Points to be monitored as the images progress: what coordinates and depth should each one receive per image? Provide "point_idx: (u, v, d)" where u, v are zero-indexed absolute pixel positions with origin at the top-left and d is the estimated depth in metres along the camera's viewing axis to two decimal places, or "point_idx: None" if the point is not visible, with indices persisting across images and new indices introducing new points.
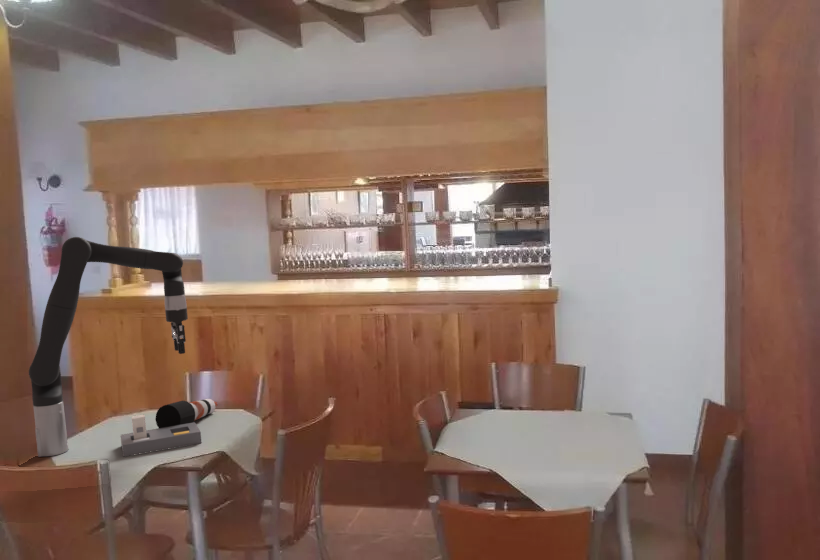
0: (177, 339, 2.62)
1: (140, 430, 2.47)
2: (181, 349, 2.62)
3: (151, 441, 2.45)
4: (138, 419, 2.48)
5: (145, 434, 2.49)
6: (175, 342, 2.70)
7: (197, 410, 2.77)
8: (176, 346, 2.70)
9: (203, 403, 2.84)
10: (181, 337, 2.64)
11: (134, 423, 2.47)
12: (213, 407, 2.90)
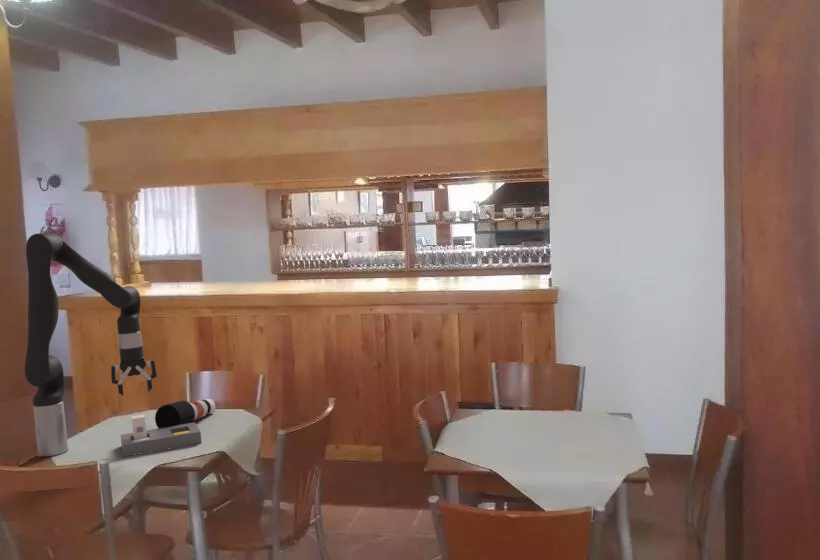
0: (149, 375, 2.49)
1: (140, 430, 2.47)
2: None
3: (151, 441, 2.45)
4: (138, 419, 2.48)
5: (145, 434, 2.49)
6: (122, 386, 2.46)
7: (197, 410, 2.77)
8: None
9: (203, 403, 2.84)
10: None
11: (134, 423, 2.47)
12: (213, 407, 2.89)
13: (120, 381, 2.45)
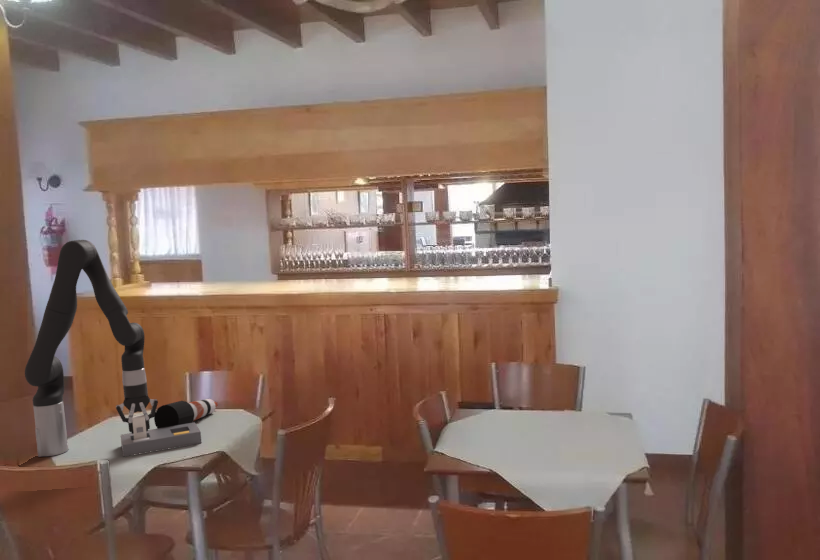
0: (148, 416, 2.50)
1: (140, 430, 2.47)
2: None
3: (151, 441, 2.45)
4: (138, 419, 2.48)
5: (145, 434, 2.49)
6: (132, 424, 2.48)
7: (196, 410, 2.77)
8: None
9: (203, 403, 2.84)
10: None
11: (134, 423, 2.47)
12: (213, 407, 2.89)
13: (130, 419, 2.47)
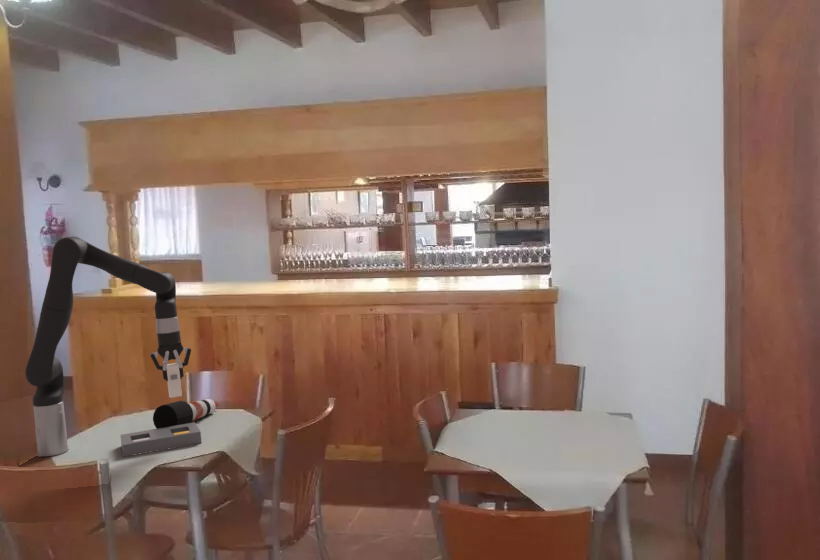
0: (182, 363, 2.53)
1: (174, 377, 2.50)
2: None
3: (151, 441, 2.45)
4: (172, 366, 2.51)
5: (179, 381, 2.52)
6: None
7: (196, 410, 2.77)
8: None
9: (202, 403, 2.83)
10: None
11: (168, 370, 2.50)
12: (213, 407, 2.89)
13: (164, 367, 2.51)
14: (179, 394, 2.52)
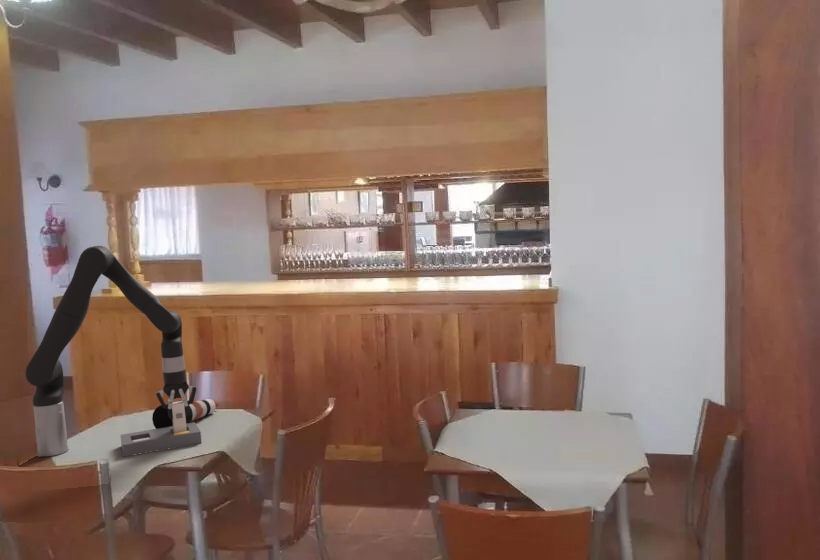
0: (187, 402, 2.55)
1: (179, 416, 2.52)
2: None
3: (151, 441, 2.45)
4: (177, 405, 2.52)
5: (184, 420, 2.54)
6: None
7: (195, 410, 2.77)
8: (172, 414, 2.54)
9: (202, 403, 2.83)
10: None
11: (174, 409, 2.52)
12: (213, 407, 2.89)
13: (169, 405, 2.52)
14: None
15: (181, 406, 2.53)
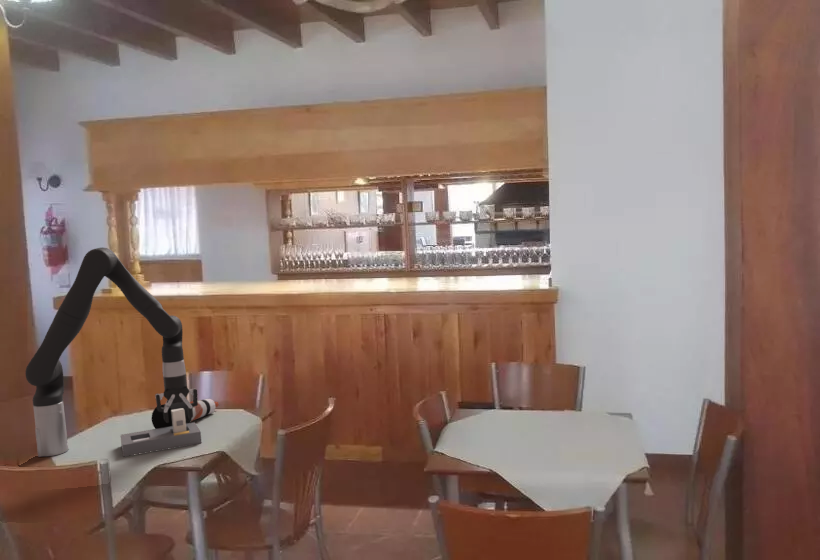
0: (191, 404, 2.55)
1: (180, 423, 2.52)
2: None
3: (151, 441, 2.45)
4: (178, 413, 2.53)
5: (185, 427, 2.54)
6: None
7: (195, 410, 2.77)
8: (168, 418, 2.53)
9: (202, 403, 2.83)
10: None
11: (174, 416, 2.52)
12: (213, 407, 2.89)
13: (166, 409, 2.52)
14: None
15: (182, 413, 2.53)
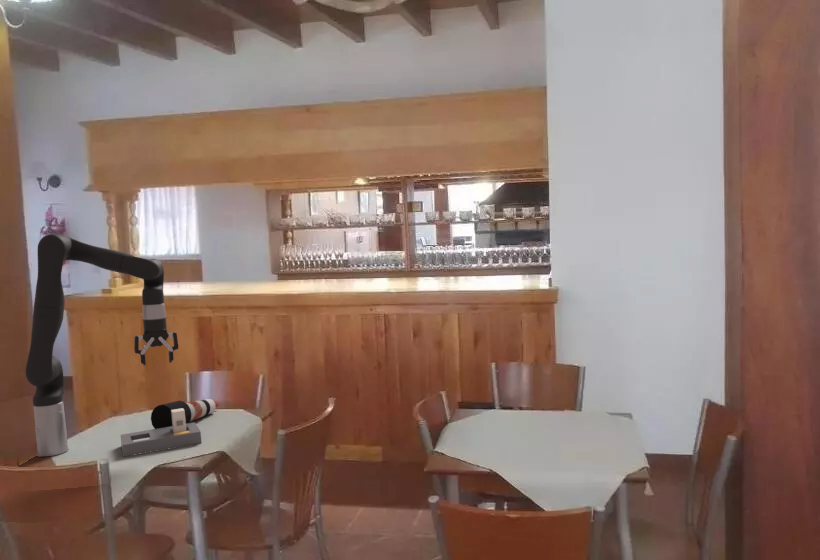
0: (171, 347, 2.54)
1: (180, 423, 2.52)
2: None
3: (151, 441, 2.45)
4: (178, 413, 2.53)
5: (185, 427, 2.54)
6: None
7: (194, 410, 2.77)
8: None
9: (202, 403, 2.83)
10: None
11: (174, 416, 2.52)
12: (213, 407, 2.89)
13: (143, 351, 2.50)
14: None
15: (182, 413, 2.53)
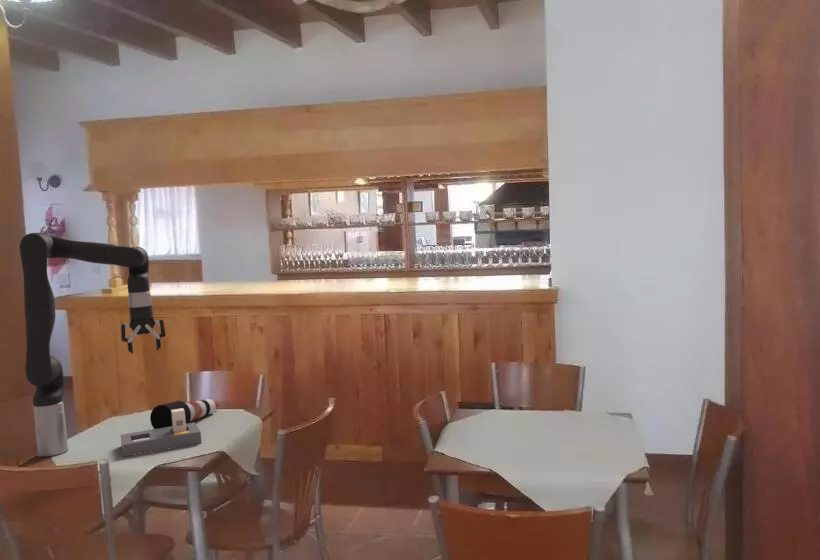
0: None
1: (180, 423, 2.52)
2: None
3: (151, 441, 2.45)
4: (178, 413, 2.53)
5: (185, 427, 2.54)
6: None
7: (194, 410, 2.77)
8: (132, 348, 2.52)
9: (202, 403, 2.83)
10: None
11: (174, 416, 2.52)
12: (213, 407, 2.89)
13: (130, 339, 2.51)
14: None
15: (182, 413, 2.53)
